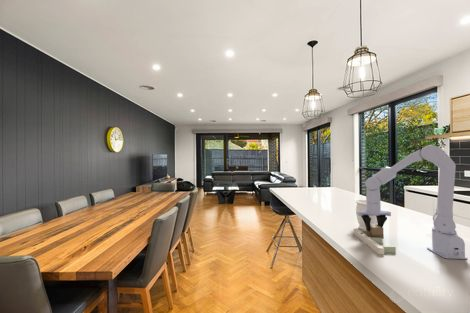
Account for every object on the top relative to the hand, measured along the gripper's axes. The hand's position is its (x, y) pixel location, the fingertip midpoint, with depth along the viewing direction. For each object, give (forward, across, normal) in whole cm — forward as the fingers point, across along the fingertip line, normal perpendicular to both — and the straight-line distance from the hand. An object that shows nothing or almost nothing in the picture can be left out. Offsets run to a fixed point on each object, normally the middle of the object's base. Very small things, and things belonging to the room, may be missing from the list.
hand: (374, 230), depth 104 cm
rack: (+4, +3, +5) cm, 7 cm away
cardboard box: (+3, 0, 0) cm, 3 cm away
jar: (+4, -4, -15) cm, 16 cm away
